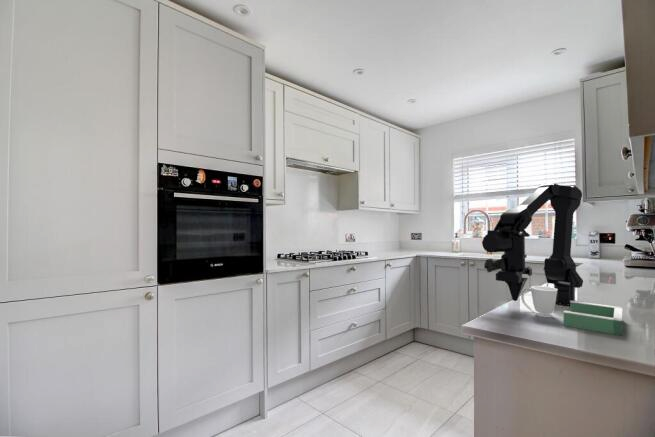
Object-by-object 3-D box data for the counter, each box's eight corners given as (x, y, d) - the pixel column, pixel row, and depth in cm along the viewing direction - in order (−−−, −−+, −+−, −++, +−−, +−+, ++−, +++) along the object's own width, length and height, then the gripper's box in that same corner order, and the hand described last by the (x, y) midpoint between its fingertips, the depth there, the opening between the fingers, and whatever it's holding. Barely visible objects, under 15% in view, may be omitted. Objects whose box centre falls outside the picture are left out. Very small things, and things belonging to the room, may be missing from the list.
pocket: (571, 312, 98) (570, 300, 98) (622, 320, 90) (622, 307, 90) (563, 325, 86) (563, 311, 86) (622, 335, 78) (621, 320, 78)
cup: (550, 320, 90) (550, 291, 91) (515, 311, 99) (515, 285, 99) (563, 316, 94) (563, 289, 94) (528, 308, 103) (528, 283, 103)
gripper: (495, 247, 113) (496, 291, 113) (477, 251, 100) (478, 301, 100) (532, 249, 106) (532, 296, 106) (518, 254, 92) (518, 308, 92)
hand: (514, 300), depth 101 cm, fingers closed
